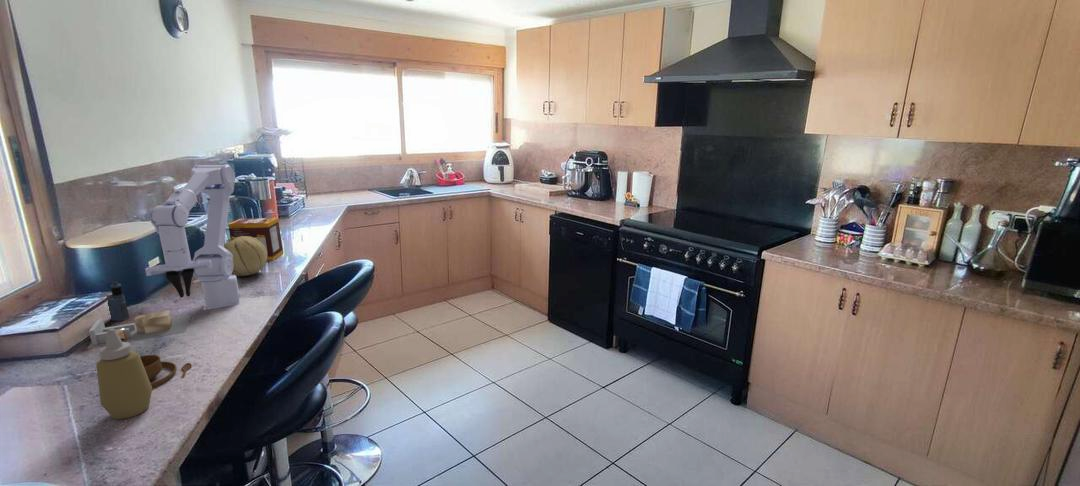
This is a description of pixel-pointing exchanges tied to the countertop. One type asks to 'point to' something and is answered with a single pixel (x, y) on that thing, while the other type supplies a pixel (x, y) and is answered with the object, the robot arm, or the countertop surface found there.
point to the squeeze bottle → (122, 379)
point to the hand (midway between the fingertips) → (185, 295)
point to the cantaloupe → (246, 255)
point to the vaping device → (117, 303)
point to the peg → (153, 322)
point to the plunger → (121, 332)
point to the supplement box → (260, 233)
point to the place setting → (159, 367)
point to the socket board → (133, 331)
